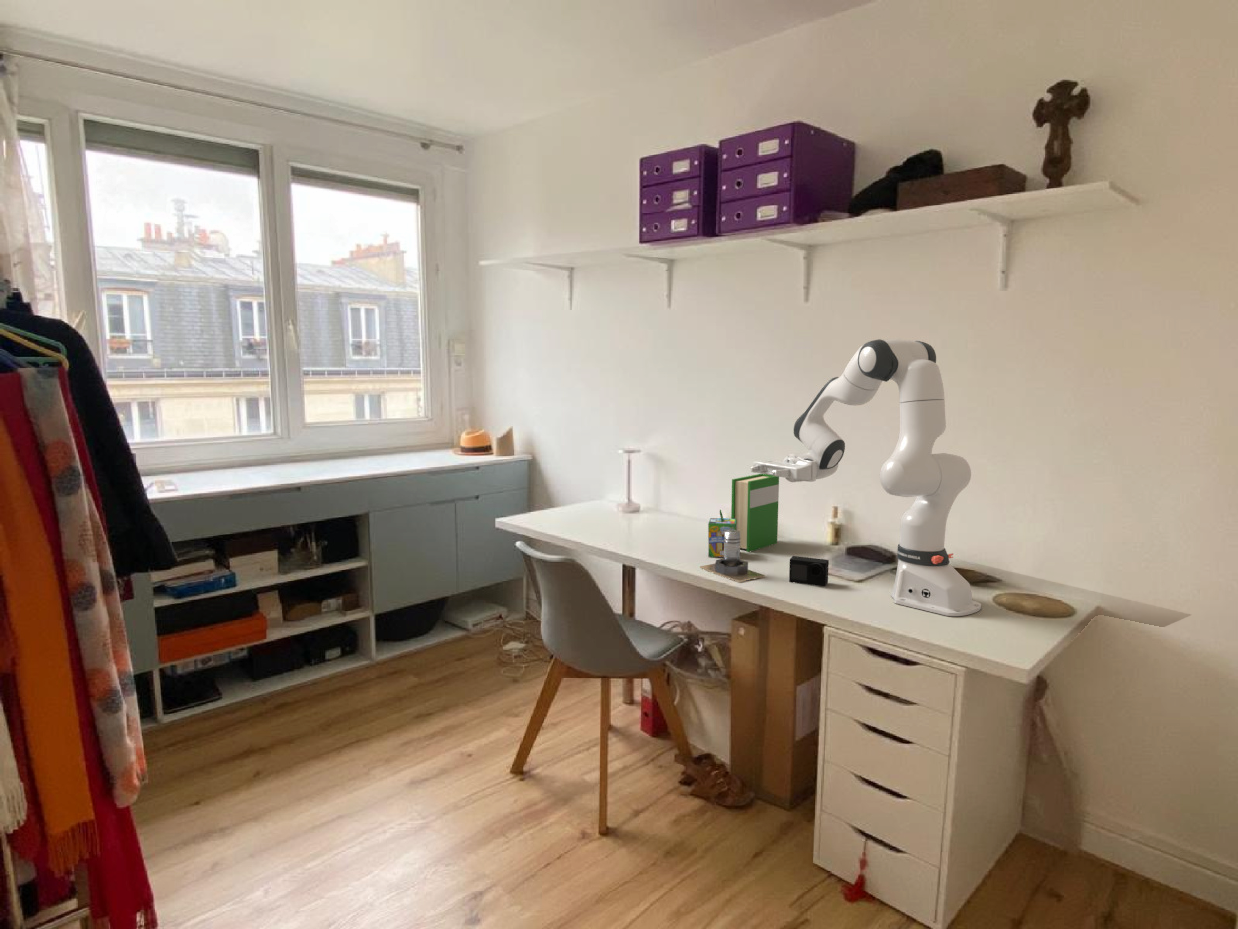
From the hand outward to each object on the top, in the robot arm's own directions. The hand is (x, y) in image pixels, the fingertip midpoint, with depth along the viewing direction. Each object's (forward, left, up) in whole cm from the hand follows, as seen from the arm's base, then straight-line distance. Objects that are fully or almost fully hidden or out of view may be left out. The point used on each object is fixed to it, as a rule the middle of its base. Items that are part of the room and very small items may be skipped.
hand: (763, 471), depth 225 cm
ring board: (0, +12, -30) cm, 32 cm away
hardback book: (+21, -17, -30) cm, 41 cm away
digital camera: (-20, +1, -30) cm, 36 cm away
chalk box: (+18, 0, -30) cm, 35 cm away
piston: (0, +12, -29) cm, 32 cm away
